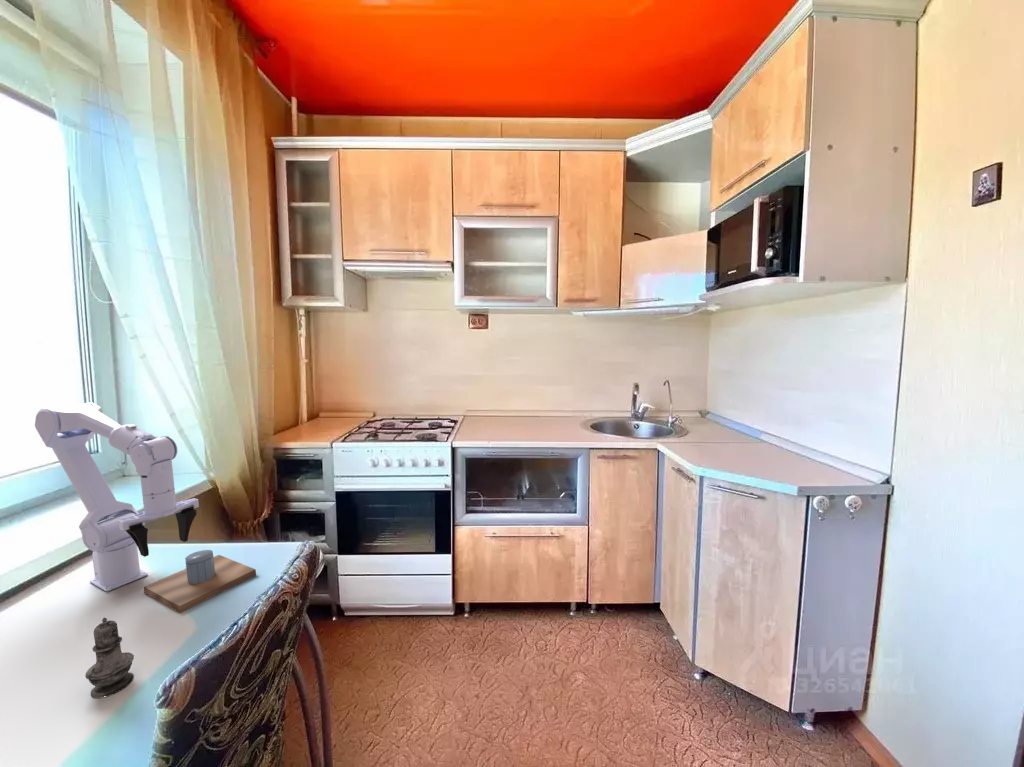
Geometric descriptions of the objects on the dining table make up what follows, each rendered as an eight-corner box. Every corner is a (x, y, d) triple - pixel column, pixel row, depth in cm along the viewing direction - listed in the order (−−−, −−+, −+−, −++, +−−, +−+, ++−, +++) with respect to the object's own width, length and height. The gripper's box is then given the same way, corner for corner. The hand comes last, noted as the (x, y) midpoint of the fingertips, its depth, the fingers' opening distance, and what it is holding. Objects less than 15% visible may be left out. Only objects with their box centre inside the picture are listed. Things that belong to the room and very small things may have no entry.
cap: (198, 585, 97) (195, 562, 96) (182, 581, 99) (179, 559, 98) (220, 573, 102) (218, 551, 101) (204, 570, 104) (202, 548, 103)
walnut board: (144, 592, 97) (142, 574, 97) (219, 560, 111) (217, 543, 111) (180, 612, 90) (177, 592, 89) (256, 575, 104) (254, 557, 103)
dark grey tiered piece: (106, 702, 67) (97, 631, 66) (78, 697, 69) (68, 627, 67) (145, 674, 73) (137, 608, 72) (118, 669, 74) (110, 604, 73)
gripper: (126, 504, 89) (133, 566, 91) (203, 483, 102) (208, 537, 103) (111, 499, 92) (119, 559, 94) (187, 479, 105) (193, 532, 107)
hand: (164, 547), depth 99 cm, fingers open, 7 cm apart
